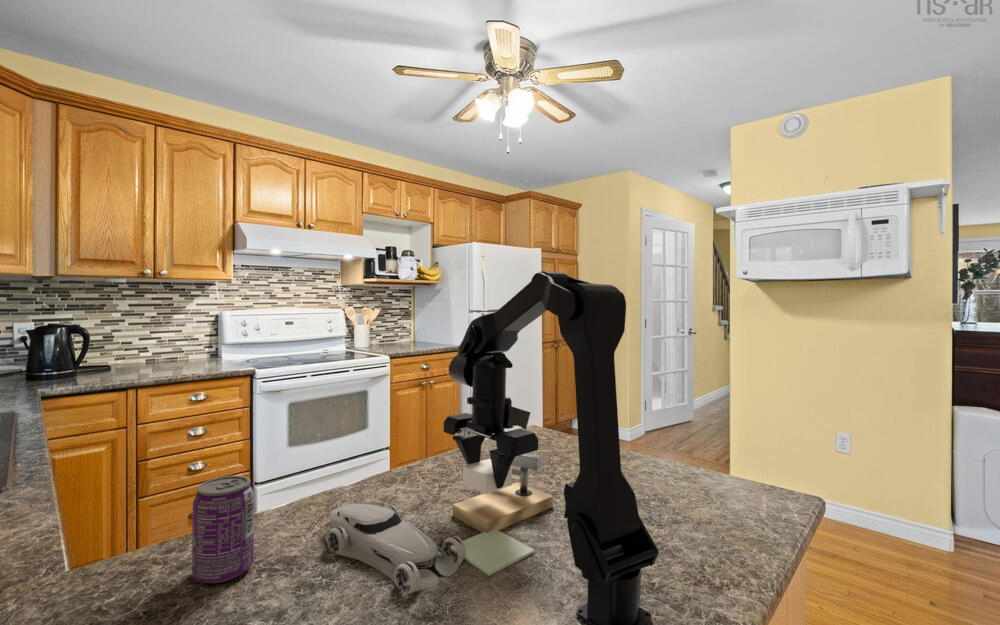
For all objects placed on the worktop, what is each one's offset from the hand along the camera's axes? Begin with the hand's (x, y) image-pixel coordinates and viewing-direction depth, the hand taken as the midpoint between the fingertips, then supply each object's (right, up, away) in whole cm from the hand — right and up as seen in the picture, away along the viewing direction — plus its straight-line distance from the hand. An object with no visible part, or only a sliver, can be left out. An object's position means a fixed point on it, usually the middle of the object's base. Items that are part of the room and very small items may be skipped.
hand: (487, 482), depth 79 cm
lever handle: (+5, -4, +7) cm, 9 cm away
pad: (+1, -6, -11) cm, 12 cm away
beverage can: (-35, -6, -17) cm, 40 cm away
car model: (-15, -7, -11) cm, 19 cm away
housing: (+3, -6, +3) cm, 7 cm away
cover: (0, 0, 0) cm, 0 cm away
